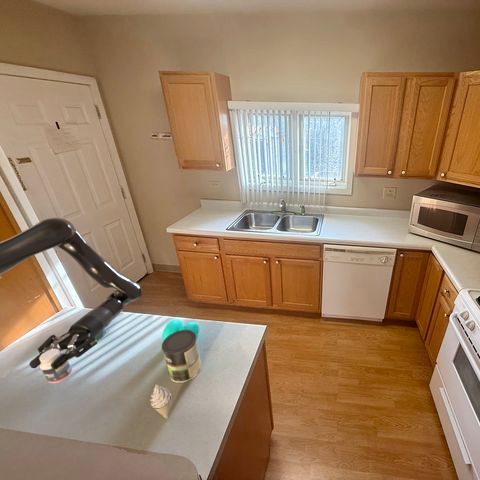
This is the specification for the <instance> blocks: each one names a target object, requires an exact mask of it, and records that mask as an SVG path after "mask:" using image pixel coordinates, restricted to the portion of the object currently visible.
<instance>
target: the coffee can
mask: <svg viewBox="0 0 480 480" xmlns="http://www.w3.org/2000/svg"><path fill="white" fill-rule="evenodd" d="M197 340H198V339H197ZM197 340H196V334H195V333H194V332H193V331H191V330H180V331H177V332H174V333H172V334H171V335H169V336H168V337H167V338H166V339H165V340H164V341H163V340H162V343H161V350H162V351H163V355H164V359H165V362H166V366H167V370H168V373H169V378H170V380H171V381H172V382H174V383H176V384H182V383H187V382H189V381H191V380H193V379H194V378H196V376H197V375H199V374H200V372H201V369H202V360H201V356H200V351H199V346H198V341H197Z"/></svg>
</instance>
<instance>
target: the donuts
mask: <svg viewBox="0 0 480 480" xmlns="http://www.w3.org/2000/svg"><path fill="white" fill-rule="evenodd" d="M180 330H191V331H193V332H194V333H195V334H196V340H198V338H199V334H200V325H199V323H198V322H196V321H189V322H187V323H186V324H185V325H184V323H183V321H182V320H181V319H179V318H174V319H172V320H170V321H169V322H168V323H167V324H166V325H165V327H164V329H163V331H162V337H161V338H162V342H163V341H164V340H165V339H166V338H167V337H168V336H169V335H171V334H172V333H174V332H177V331H180Z"/></svg>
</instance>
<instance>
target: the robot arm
mask: <svg viewBox="0 0 480 480" xmlns="http://www.w3.org/2000/svg"><path fill="white" fill-rule="evenodd" d="M56 247H57V248H59V249H61V250H62V251H64V252H65V253H66V254H68V255H69V256H70V257H71V258H72V259H74V261H75V262H76V263H77V264H78V265H79V266H80V267H81V269H82V270H83V271H84V272H85V273H86V274H87V275H88V276H89V277H90V278H91V279H92V280H93V281H95V282H96V283H97V284H98V285H99V286H100V287H102V288H104V289H115V290H114V291H113V292H111V293H110V294H109V295H108V296H107V297H106V298H105V299H104V301H102V302H101V303H100V304H98V305H97V306H96V307H94V308H93V309H91V310H90V311H88V312H87V313H86V314H85V315H83V316H82V317H80V318H79V319H78V320H77V321H75V322H74V323H73V324H71V326H70V327H69V329H68V331H67V332H65V333H64V334H62V335H59V336H57V335H56V334H52V335H50V336H48V338H46V340H44V342H43V343H42V344H40V346H39V347H38V348H37V351H38V353H39V354H38V355H36V356H35V357H33V359H32V360H30V362H29V364H28V365H29V366H30V369H36V368H38V367H40V364H41V362H40V359H39V357H40V356H41V355H42V354H43V353H44V352H46V351H48V350H51V349H58V350H59V351H60V353H61V352H63V351H64V350H65V351H64V353H61V354H62V355H61V356H59V357H58V358H57V359H56V360H55V361H54V362H53V363H51V367H52V369H58V368H59V367H60V366H62V365H63V364H64V363H65V362H66V361H69V360H71V359H73V358H74V357H75V358H76V359H77V358H80V357H81V356H83V355H84V354H86V353H87V352H89V350H91V349H92V348H94V347H95V346H97V344H98V341H97V340H96V338H95V337H96V336H97V335H98V334H99V333H101V332H102V331H103V330H106V328H107V327H108V326H110V324H111V323H112V321H114V320H115V319H116V318H117V317H118V316H119V315H120V314H121V313H123V310H124V307H126V306H127V305H128V304H131V303H133V302H134V301H137V300H139V299H140V298H141V297H142V296H143V288H142V286H141V285H140V284H139V283H138V282H136V281H135V280H133V279H131V278H129V277H128V276H126V275H123V274H121V272H119V271H118V270H117V269H116V268H115V267H114V266H113V265H111V264H110V262H109V261H107V260H106V259H104V258H103V257H102V256H101V255H100V254H99V253H98V252H97V251H95V250H94V249H93V248H92V246H90V245H89V244H88V243H87V241H85V239H84V238H83V237H82V236H81V234H80V233H79V232H78V230H77V229H76V227H75V226H74V224H73V223H72V222H71V221H70V220H67V219H65V218H61V217H51V218H45V219H43V220H41V221H38V222H37V223H35V224H34V225H32V226H30V227H29V228H26V229H24V230H23V231H21V232H18V233H17V234H16V235H14V236H11V237H10V238H7V239H5V240H4V239H3V240H1V241H0V276H1V275H3V274H5V273H7V272H8V271H10V270H11V269H13V268H15V267H16V266H17V265H19V264H21V263H22V262H24V261H26V260H27V259H29V258H30V257H33V256H35V255H39V254H41V253H43V252H45V251H48V250H50V249H53V248H56Z"/></svg>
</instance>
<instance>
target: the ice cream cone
mask: <svg viewBox="0 0 480 480" xmlns="http://www.w3.org/2000/svg"><path fill="white" fill-rule="evenodd" d="M150 397H151V398H150V399H149V401H150V402H149V403H150V405H151V408H152V409H154V410H155V411H156V412H158V414H160V415H161V416H162V417H163V418H165V419H168V418H169V414H170V406H171V400H172V397H173V396H172V393H171V392H170V390H169V389H168V388H166V387H163V386H161V385H158V384H157V383H156V384H155V385H154V388H153V392H152V394H151V395H150Z"/></svg>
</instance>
